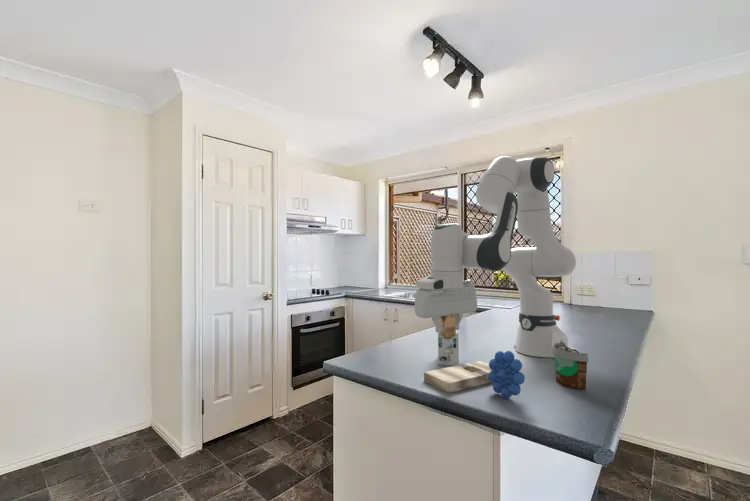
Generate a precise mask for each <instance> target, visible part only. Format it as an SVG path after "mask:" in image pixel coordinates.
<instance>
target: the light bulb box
mask: <svg viewBox="0 0 750 501" xmlns="http://www.w3.org/2000/svg"><path fill="white" fill-rule="evenodd" d="M459 339H460V338H459V330H456V336H454V337H453V354H451V355H447V354H443V353H442V336H440V333H438V332H437V351H438V352H437V358H438V359H437V360H438V361H437V364H438V365H439V366H448V367H452V366H457V365H460V362H459V360H460V358H459V357H460V356H459V354H460V353H459V351H460V349H459V348H460V347H459V346H460V345H459V344H460V343H459V342H460V341H459Z"/></svg>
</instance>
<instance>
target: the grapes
mask: <svg viewBox="0 0 750 501" xmlns="http://www.w3.org/2000/svg"><path fill="white" fill-rule="evenodd" d="M488 364H489V367H490V369H491V370H493V371H491V372H489V374H488V378H489V380H490V381H491V382H490V383H493V384H492V389H493V391H494V392H495V393H496V394H500V396H502V398H504V399H510V398H511V397H512V396H519V395H520V392H521V390H522V389H521V385H522V384H524V382H525V380H526V377H525V375H524V374H523V373H522V372H521V370H522V368H523V363H522V361H521V360H520V359H518V358H515V354H514V353H513V351H510V350H507V351H505V352H503V351H501V350H499V351H497V352H496V353H494V358H492V359H490V361H489V363H488Z"/></svg>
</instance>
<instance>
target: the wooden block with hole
mask: <svg viewBox="0 0 750 501" xmlns="http://www.w3.org/2000/svg"><path fill="white" fill-rule="evenodd" d="M491 371H493V370H491V369H490V367H489V363H487V362H485V361H481V360H477V361H472V362H471V361H470V362H468V363H459V365H457V366H447V367H444V368H437V369H433V370H429V371H424V372H423V381H424V382H425V383H427V384H430V385H432V386H433V387H435V388H438V389H439V390H441V391H443V392H445V393H448V394H450V393H455V392H458V391H462V390H465V389H469V388H474V387H478V386H481V385H485V384H489V383H492V382H491V381H490V380H489V378H488V374H489V372H491Z"/></svg>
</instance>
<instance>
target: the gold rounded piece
mask: <svg viewBox="0 0 750 501" xmlns="http://www.w3.org/2000/svg"><path fill="white" fill-rule="evenodd" d="M439 322H440V324H441V326H444V329H443V330H444V332H441V333H440V336H442V353H443V354H447V355H451V354H453V337H454V336H456V314H451V315H446V316H441V320H439Z"/></svg>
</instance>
